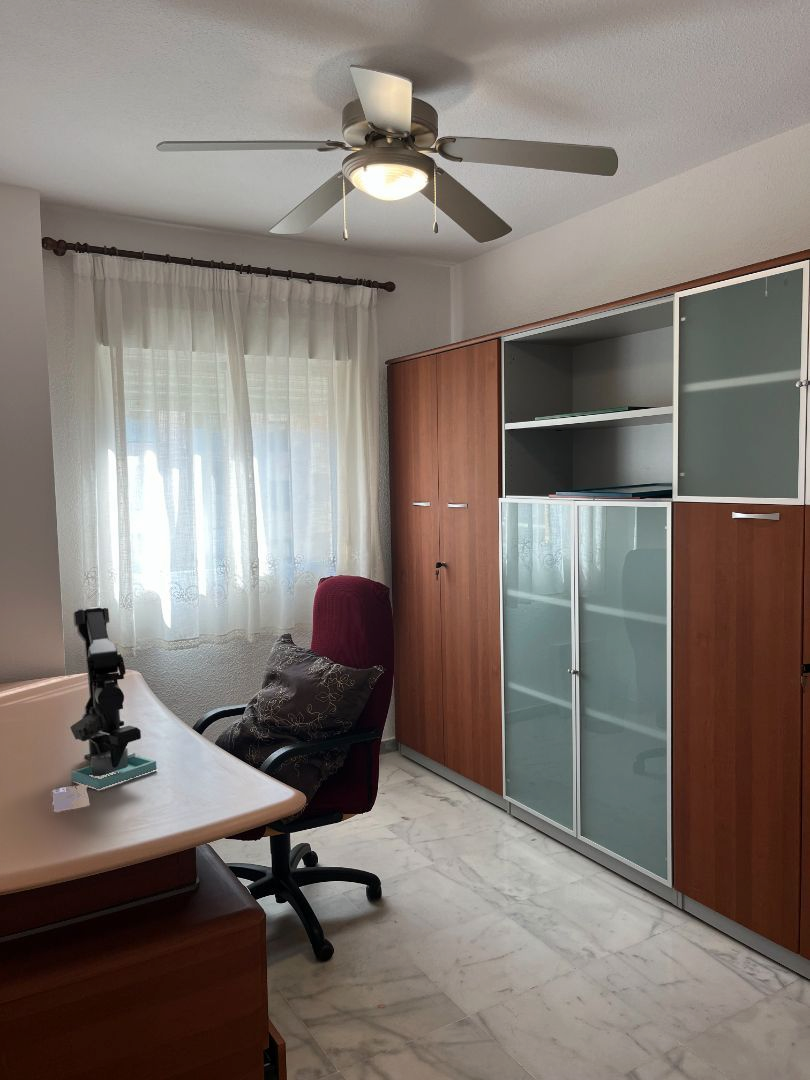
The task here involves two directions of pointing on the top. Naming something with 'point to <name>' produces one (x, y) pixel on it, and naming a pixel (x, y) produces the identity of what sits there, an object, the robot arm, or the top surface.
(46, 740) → the top surface
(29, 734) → the top surface
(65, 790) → the mobile phone
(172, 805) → the top surface
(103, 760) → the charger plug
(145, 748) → the top surface
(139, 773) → the desk tray
